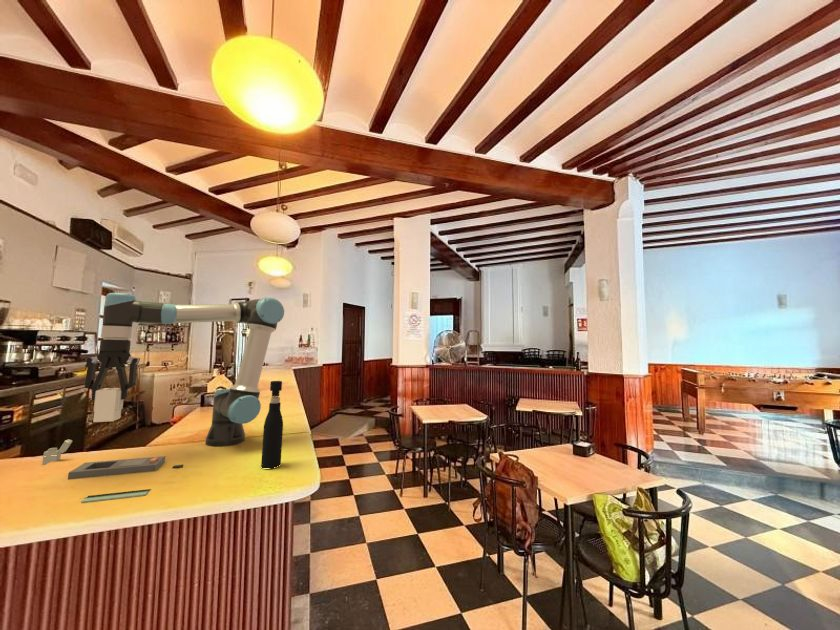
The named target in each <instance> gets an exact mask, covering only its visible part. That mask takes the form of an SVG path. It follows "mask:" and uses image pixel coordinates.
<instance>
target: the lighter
mask: <svg viewBox="0 0 840 630" xmlns="http://www.w3.org/2000/svg"><path fill="white" fill-rule="evenodd" d="M71 444H73V440H72V439H69V438H68V439H65V440H64V442H63V443H62V445H61V446H60V448H59V449H58V447H51V448H49V447H48V449H47V450H46V451H44V452H43V456H42V461H41V462H42V463H41V465H42V466H45V465H47V464H49V463H51V462H52V463H53V462H59V461H61V457H62V454H63V453H65V452H66V451H68V449H69V447H70V446H71ZM51 455H57V456H51ZM44 456H46V457H44Z"/></svg>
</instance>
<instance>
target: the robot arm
mask: <svg viewBox="0 0 840 630" xmlns="http://www.w3.org/2000/svg"><path fill="white" fill-rule="evenodd" d="M284 317H285V308H284V306H283V304H282V302H281V301H280V300H278V299H277V298H275V297H267V296H265V297H262V298H257V299H252V300H247V301H235V302H233V304H231V303H229V304H228V303H227V304H172V303H171V304H170V303H167V302H164V303H162V302H151V301H139V300H137V299H136V296H135V295H134V294H129V293H125V292H124V293H123V292H109V293H107V294H106V295H105V302H104V306H103V316H102V324H101V333H100V338H102V339H101V340H100V341H99V348H98V349H99V352H98V353H97V354H96V356H91V357H87V358H86V359H85V360H86V365H87V367H86V368H87V369H86V374H85V375H86V376H85V384H84V388H85V389H89V390H91V401H94V404H93V411H94V410H95V402H96V393H97V390H100V389H102V385H103V383H104V380H105V378H106V376H107V374H108V372H109V370H110V369H111V368H115V370H116V371H117V377H118V380H119V385H120V388H121V389H120V390H118V395H117V404H116V410H121V411H122V410H123V408H124V407H123V406H124V400H127V398H128V392H129V389H132V388H135V387H136V384H137V376H138V375H137V374H138V365H139V363H140V362H141V358H140V357H133V356H132V355H131V354H130V351H131V343H132V341H131V340H130V339H131V338H132V332H133V324H134V323H137V324H138V323H139V324H141V325H145V326H147V325H149V326H150V325H172V324H188V323H190V324H191V323H193V324H194V323H212V322H213V323H216V322H218V323H219V322H234V323H235V324H247V326H248V327H249V333H248V337H247V340H246V344H245V346H244V347H245V349H244V351H243V355H242V360H241V362H240V366H239V370H238V374H237V378H236V381H235V383H234V384H233V386H231V387H230V388H223V389H217V390H215V391H214V393H213V397H212V398H213V401H212V402H213V404H212V415H211V416H212V417H211V425H210V427H209V430H208V432H207V435H206V436H205V441H204V442H205V445H206V446H209V447H226V446H232V445H237V444H240V443H242V441H243V442H244V441H245V440H246V433H245V429H244V426H243V424H249V423H250V422H252V421H253V420H255V419H256V418H257V417H258V415H259V414H260V412H261V408H262V406H261V405H262V404H261V402H260V399H259V398H260V395H261V394H260V393H261V390H260V389H259V387H258V386H259V382H260V378H261V374H262V371H263V366H264V362H265V358H266V354H267V351H268V347H269V344H270V339H271V337H272V333H273V332H275V331H276V330H277V327H278V323H280V322H281V321H282V320H283V318H284ZM128 361H129V369H128V371H129V372H128V376H127V371H126V363H127V362H128ZM98 362H100V364H101V365H100V368H99V370H98V374H97V375H96V373H97V372H96V371H97V370H96V369H97V363H98Z"/></svg>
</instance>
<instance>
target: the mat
mask: <svg viewBox="0 0 840 630" xmlns="http://www.w3.org/2000/svg"><path fill="white" fill-rule="evenodd" d="M151 490H152V488H149V489H140V490H137V489H136V490H130V491H128V490H127V491H120V492H112V493H104V494H93V495H87V496H86V498H84V499H83V500H82V501H80V503H81V504H86V503H93V502H102V501H110V500H111V501H112V500H120V499H128V498H129V499H130V498H137V497H145V496H147V495H148V494H149V492H150V491H151Z"/></svg>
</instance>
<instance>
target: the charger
mask: <svg viewBox="0 0 840 630" xmlns="http://www.w3.org/2000/svg"><path fill="white" fill-rule="evenodd" d="M120 389H121V387H111V388H110V387H106V388H105V387H104V388H101V389H99V390H97V393H96V402H95V401H94V402H95V410H94V409H93V412H94V413H93V418H92V419H93V420H92V422H93V423H103V422H115V421H117V420H119V419H121V417H122V409H121V410H116V404H117V395H118V390H120Z"/></svg>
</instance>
